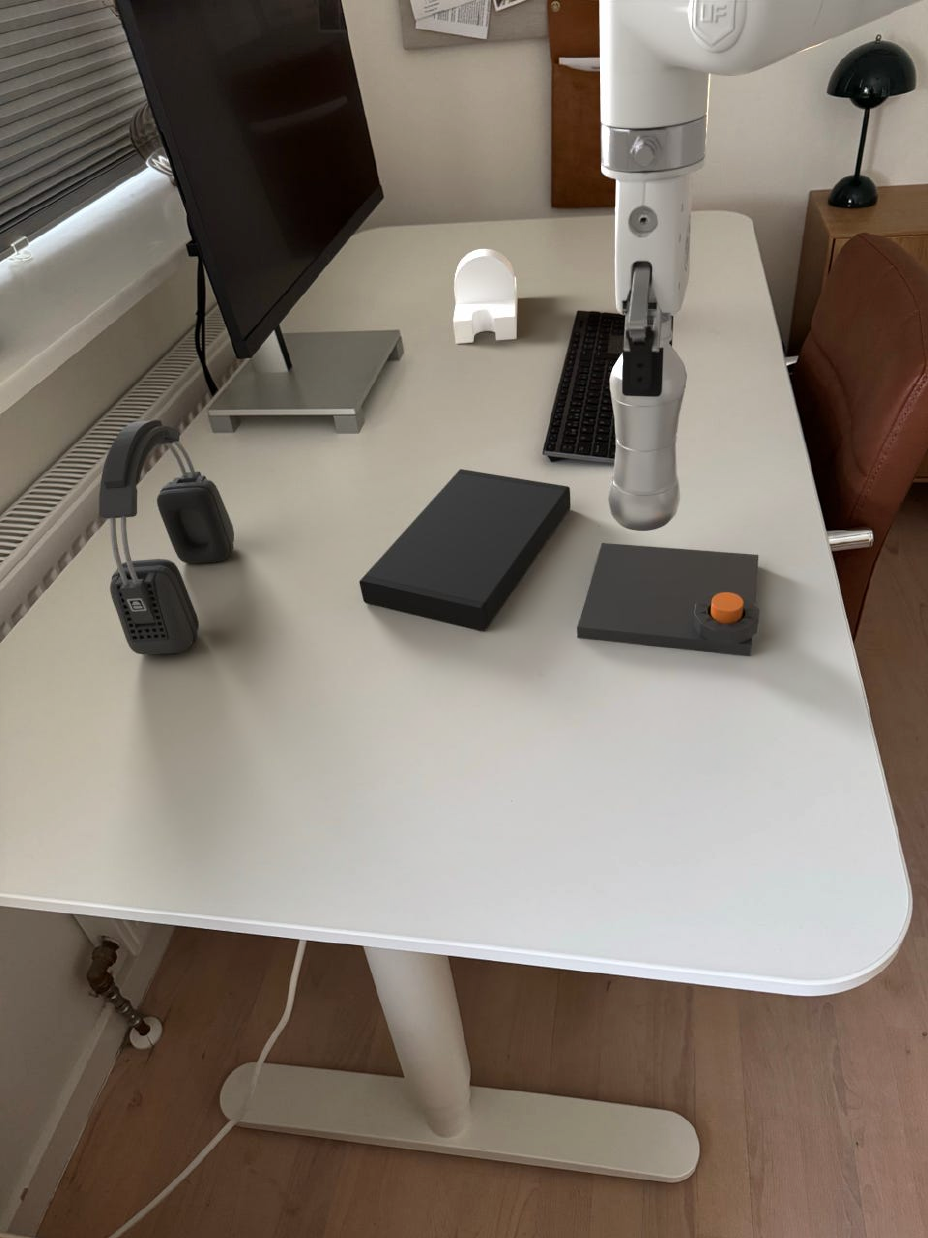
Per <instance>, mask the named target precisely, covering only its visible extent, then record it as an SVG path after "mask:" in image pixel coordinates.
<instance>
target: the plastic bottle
mask: <svg viewBox="0 0 928 1238" xmlns="http://www.w3.org/2000/svg"><path fill="white" fill-rule="evenodd" d="M648 310H656V309H648ZM671 321H672V318H671V315H670V313H663V316H662V325H661V338H660V348H664V350H663V379H662V392H661V395H660V396H658V397H646V396H625V395H624V394H623V393H622V353H621V354H620V355H619V357H618V358H617V360H616V361H615V364H614V365H613V367H612V369H611V372H610V376H609V391H610V398H611V405H612V411H613V417H614V418H613V419H614V433H615V434H614V435H615V453H614V463H613V471H612V472H613V474H612V477H611V481H610V484H609V492H608V506H609V510H610V514H611V516H612V518H613V519H614V520H615V521H616V523H618V525H620V526H621V527H623V528H625V529H627V530H630V531H636V532H646V531H647V532H648V531H649V532H650V531H654V530H657V529H661V528H663V527H665V526H666V525H668V524H669V523H670V522H671V521H672V519H673V518H674V517H675V516H676V514H677V512H678V508H679V505H680V500H681V490H680V489H681V487H680V481H679V476H678V467H677V466H678V465H677V464H678V463H677V439H678V430H679V422H680V421H679V420H680V415H681V410H682V405H683V401H684V396H685V391H686V388H687V386H686V385H687V379H688V374H687V369H686V366H685V363H684V361H683V360H682V358H681V356H680V355H679V354H678V352H677V351H676V350H675V348H673V345H672V346H671V345H670V344H669V342H670V341H671V340H672V341H673V339H672V330H671ZM653 324H654V319H647V326H651V328H652V330H653Z"/></svg>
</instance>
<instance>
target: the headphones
mask: <svg viewBox="0 0 928 1238" xmlns="http://www.w3.org/2000/svg"><path fill="white" fill-rule="evenodd" d="M173 443H174V445H175V446H176V447H177V448H178V449H179V451H180V452H181V454H182V455H183V458H184V459H185V462H186V464H187V466H188V469H189V472H188V471H186V467H185V465H184V462H183V460H182V458H181V456H180V454H179V453H178V450H177V449H176V448H175V446H174V445H173ZM163 444H164V445H165V446H166V447H167V448H168V449H169V450H170V451H171V453H172V454H173V456H174V458H175V460H176V462H177V465H178V466H179V468H180V472H181V475H180V477H174V478H173V479H172V480H171V481H170V482H167V483H166V484H165V485H163V486H162V488H161V489H160V490H159V493H158V494H157V497H156V506H157V509H158V512H159V515H160V516H161V519H162V523H163V525H164V527H165V530H166V532H167V535H168V537H169V540H170V542H171V545H172V547H173V550H174V552H175V554H176V556H177V558H178V559H179V561H181V562H183V563H186V564H206V563H217V562H222V561H225V560H226V559H228V557H230V554H231V553H232V552H233V550H234V541H235V532H234V531H235V530H234V527H233V523H232V520H231V517H230V515H229V512H228V509H227V508H226V505H225V503H224V500H223V497H222V496H221V493H220V491H219V489H218V487H217V485H216V484H215V482H213V481H212V480H211V479H207V477H206V476H205V475H202V473H201V471H196V470H195V468H194V465H193V462H192V459H191V458H190V456H189V453H188V452H187V450H186V448H185V447H184V446H183V445H182V444H183V443H181V442H180V431H179V430H178V429H176V428H175V427H172V426H168V425H163V423H162V420H159V419H152V420H140V421H133V422H130V423H129V424H127V425H125V426H124V427H123V428H122V429H121V430H120V431H119V433H118V434H117V435H116V437H115V439H114V441H113V443H112V444H111V446H110V448H109V450H108V453H107V456H106V457H105V460H104V464H103V468H102V473H101V476H100V477H101V478H100V485H99V494H98V516H99V517H100V518H103V519H109V525H110V526H109V528H110V529H109V531H110V542H111V546H112V553H113V557H114V560H115V565H116V569H115V571H114V572H113V574H112V577H111V580H110V586H109V592H110V596H111V600H112V602H113V605H114V608H115V611H116V615H117V617H118V620H119V623H120V625H121V628H122V631H123V634H124V638H125V640H126V643H127V645H128V647H129V649H130V650H131V651H132V652H133V653H136V654H138V655H160V654H162V655H163V654H164V655H165V654H177V653H182V652H185V651H187V650H189V648H190V647H191V645H192V644H193V643H194V642H196V640H197V638H198V635H199V628H200V621H199V618H198V615H197V612H196V610H195V607H194V604H193V602H192V600H191V597H190V595H189V592H188V589H187V587H186V584H185V582H184V579H183V577H182V574H181V571H180V570H179V568H178V566H177V565H176V563H175V562H174V561H172V560H170V559H166V558H150V559H138V560H132V557H131V553H130V547H129V541H128V533H127V532H128V531H127V518H134V517H137V515H138V487H137V484H138V483H139V481H140V479H141V476H142V473H143V469H144V465H145V463H146V461H147V458H148V457H149V454H150V453H151V451H152V450H153V449H154V448H155V446H157V445H163ZM117 519H120V534H121V543H122V549H123V554H124V557H125V562H122V560H121V559H122V558H121V555H120V551H119V547H118V546H119V545H118V537H117Z"/></svg>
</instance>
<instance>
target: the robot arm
mask: <svg viewBox="0 0 928 1238" xmlns="http://www.w3.org/2000/svg"><path fill="white" fill-rule="evenodd" d="M923 1H924V0H599V64H600V65H599V66H600V69H599V70H600V71H599V72H600V73H599V74H600V75H599V77H600V82H599V83H600V84H599V85H600V159H601V161H600V162H601V164H600V166H601V170H600V171H601V174H602V175H604V176H605V177H608V178H610V179H614V180H615V207H614V213H615V214H614V291H615V306H616V307H615V308H616V311H617V312H618V313H619V315H622V316H625V317H624V318H625V319H624V336H623V347H622V351H621V352H622V353H621V354H622V393H623V394H624V395H625V396H646V397H658V396H660V395H661V392H662V379H663V350H664V348H660V338H661V325H662V316H663V313H670V315H671V318H672V321H671V330H672V340H671V341H670V342H669V344H670V345H671V346H672V347H673V338H674V337H673V335H674V316H675V315H677V314H678V313H679V312H680V311H681V309H682V306H683V303H684V300H685V295H686V293H687V288H688V284H689V280H690V271H691V229H692V228H691V227H692V226H691V225H692V198H693V197H692V196H693V195H692V194H693V193H692V192H693V191H692V190H693V189H692V173H695V172H697V171H699V170H700V169H701V170H702V168H703V167H704V166H705V165H706V150H707V135H708V134H707V133H708V117H709V113H708V112H709V101H710V99H709V98H710V86H711V85H710V84H711V75H715V76H721V77H722V76H723V77H736V76H744V75H747V74H750V73H753V72H754V73H755V72H757V71H759V70H761V69H764V68H766V67H768V66H771V65H773V64H776V63H778V62H780V61H782V60H785V59H787V58H789V57H791V56H794V55H797V54H799V53H801V52H804V51H806V50H809V49H811V48H814V47H815V48H816V47H817V46H819V45H822V44H824V43H826V42H830V41H832V40H833V39H835V38H838V37H840V36H842V35H845V34H847V33H849V32H852V31H854V30H855V29H858V28H861V27H863V26H866V25H868V24H870V23H872V22H875V21H877V20H880V19H882V18H884V17H886V16H890V15H891V14H894V13H896V12H898V11H901V10H904V9H906V8H909V7H910V6H913V5H916V4H918V3H921V2H923ZM648 309H656V310H648ZM647 319H654V324H653V330H652V328H651V326H647Z"/></svg>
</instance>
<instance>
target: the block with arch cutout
mask: <svg viewBox="0 0 928 1238" xmlns="http://www.w3.org/2000/svg"><path fill="white" fill-rule="evenodd" d="M454 275H455V276H454V282H453V283H454V284H453V291H454V299H455V308H454V314H453V319H452V322H453V333H454V340H455V341H454V342H455V345H459V344H469V343H471V344H472V343H474V339H475V335H477V334H479V333H482V332H492V333H494V335H495V341H509V340H517V339H518V338H517V336H518V335H517V333H518V327H517V326H518V287H517V277H516V276H515V272H514V268H513V266H512V264H511V262H510V261H509V259H508V258H507V257H506V256H505V255H504V254H502V253H501V252H499V251H498V250H494V249H491V248H479V249H475V250H473V251H471V252H469V253H467V254H466V255H465V256H464V257H463V258H462V259H461V261H460V262H459V264H458V266H457V268H456V272H455V274H454ZM483 325H484V326H483ZM490 325H491V326H490Z"/></svg>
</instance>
